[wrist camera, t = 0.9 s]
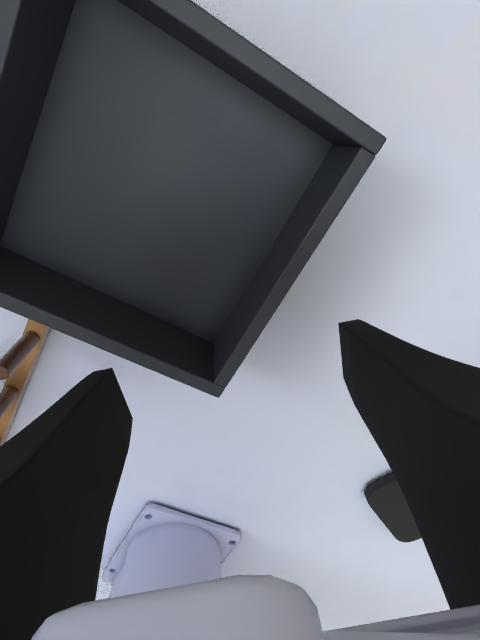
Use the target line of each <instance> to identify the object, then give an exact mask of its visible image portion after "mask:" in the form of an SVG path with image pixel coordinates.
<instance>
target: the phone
mask: <svg viewBox="0 0 480 640" xmlns="http://www.w3.org/2000/svg"><path fill="white" fill-rule="evenodd" d="M365 496H366V499H367V501H368V504H369V505H370V507H371V508H372V509H373V510H374V512H375V513H376V514H377V515H378V517H379V518H380V519H381V520H382V522H383V523H384V524H385V525H386V527H387V528H388V529H389V530H390V532H391V533H392V534H393V535H394V537H395V538H396V539H397V540H399V541H402V542H411V541H415V540H417V539H420V538H422V537H421V535H420V532H419V530H418V528H417V525H416V523H415V521H414V518H413V516H412V514H411V511H410V509H409V507H408V504H407V502H406V500H405V498H404V495H403V493H402V491H401V489H400V486H399V484H398V482H397V480H396V477H395V475H394V473H391V474H389V475H387V476H385V477H383V478H381V479H379V480H377V481H375V482H373V483H371V484H370V485H369V486H368V487H367V488H366V490H365Z"/></svg>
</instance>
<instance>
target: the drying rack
mask: <svg viewBox="0 0 480 640" xmlns="http://www.w3.org/2000/svg"><path fill="white" fill-rule="evenodd" d="M49 330H50V327H48V326H45V325H43V324H40V323H38V322H36V321H33V320H31V319H29V320H28V322H27V325H26V328H25V330H24V333H23V336H22V337H21V338H20V339H19V340H18V341H17V342H16V343H15V344H14V345H13V346H12V348H11V349H10V350H9V351H8V352H7V353H6V354H5V355H4V356H3V357H2V358H1V359H0V380H4V379H6V382H5V384H4V387H3V390H2V392H1V393H0V446H1V445H3V444H4V442H5V440H6V437H7V435H8V432H9V430H10V427H11V425H12V422H13V420H14V417H15V415H16V412H17V410H18V407H19V405H20V402H21V400H22V397H23V395H24V392H25V390H26V387H27V385H28V382H29V380H30V377H31V375H32V372H33V370H34V367H35V365H36V362H37V360H38V357H39V355H40V352H41V350H42V347H43V345H44V342H45V340H46V337H47V335H48V332H49Z"/></svg>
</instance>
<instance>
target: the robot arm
mask: <svg viewBox="0 0 480 640" xmlns="http://www.w3.org/2000/svg"><path fill="white" fill-rule="evenodd" d="M339 334H340V345H341V356H342V367H343V378H344V380H345V383H346V385H347V388H348V390H349V393H350V395H351V398H352V400H353V402H354V404H355V406H356V408H357V410H358V412H359V413H360V415H361V417H362V419H363V420H364V422H365V424H366V426H367V427H368V429H369V431H370V432H371V434H372V436H373V438H374V439H375V441H376V443H377V445H378V446H379V448H380V450H381V451H382V453H383V455H384V457H385V458H386V460H387V462H388V464H389V466H390V468H391V469H392V471H393V473H394V475H395V477H396V480H397V482H398V484H399V486H400V489H401V491H402V493H403V495H404V498H405V500H406V502H407V504H408V507H409V509H410V511H411V514H412V516H413V518H414V521H415V523H416V525H417V528H418V530H419V532H420V535H421V537H422V539H423V542H424V544H425V547H426V549H427V552H428V554H429V557H430V559H431V561H432V564H433V566H434V569H435V571H436V574H437V576H438V579H439V581H440V584H441V586H442V589H443V591H444V594H445V597H446V599H447V602H448V604H449V607H450V610H446V611H440V612H434V613H428V614H423V615H417V616H411V617H405V618H399V619H393V620H388V621H382V622H376V623H370V624H364V625H359V626H353V627H347V628H341V629H335V630H329V631H322V629H321V624H320V619H319V615H318V610H317V607H316V605H315V604H314V603H313V601H312V600H311V598H310V597H309V596H308V594H307V593H306V592H305V590H304V589H303V588H301V587H300V586H298V585H296V584H294V583H291V582H288V581H285V580H283V579H280V578H277V577H274V576H272V575H237V576H231V577H225V578H221V566H220V565H221V564H222V562H223V561H224V560H225V559H226V557H227V556H228V555H229V554H230V553H231V551H232V550H233V549H234V548H235V547H236V545H237V544H238V543H239V542H240V540H241V539H242V537H241V532H240V531H237V530H234V529H231V528H228V527H225V526H222V525H219V524H216V523H213V522H209V521H206V520H203V519H200V518H197V517H194V516H191V515H188V514H185V513H181V512H178V511H175V510H172V509H169V508H166V507H163V506H160V505H157V504H153V503H151V504H148V505H146V506H145V508H144V509H143V511H142V512H141V514H140V516H139V517H138V519H137V520H136V522H135V523H134V525H133V526H132V528H131V529H130V531H129V533H128V534H127V536H126V537H125V539H124V540H123V542H122V543H121V545H120V547H119V548H118V550H117V551H116V553H115V554H114V556H113V557H112V559H111V561H110V562H109V564H108V565H107V567H106V568H105V570H104V571H103V574H102V579H103V580H104V581H107V582H111V583H113V584H112V588H111V592H110V597H109V598H107V599H102V600H96V601H95V598H96V591H97V584H98V577H99V571H100V564H101V558H102V552H103V546H104V541H105V535H106V529H107V525H108V521H109V516H110V512H111V509H112V505H113V502H114V498H115V495H116V491H117V488H118V484H119V481H120V477H121V474H122V471H123V467H124V463H125V460H126V456H127V452H128V449H129V443H130V436H131V428H132V419H133V418H132V416H131V413H130V411H129V408H128V406H127V403H126V401H125V398H124V396H123V393H122V391H121V388H120V386H119V384H118V381H117V379H116V376H115V374H114V371H113V369H112V368H110V369H105V370H99V371H94V372H92V373H91V374H89V375H88V376H87V377H85V378H84V379H83V380H81V381H80V382H79V383H78V384H77V385H75V386H74V387H73V388H72V389H71V390H70V391H68V392H67V393H66V394H65V395H64V396H63V397H61V398H60V399H59V400H58V401H57V402H56V403H54V404H53V405H52V406H51V407H50V408H49V409H47V410H46V411H45V412H44V413H43V414H41V415H40V416H39V417H38V418H36V419H35V420H34V421H33V422H31V423H30V424H29V425H28V426H26V427H25V428H24V429H23V430H21V431H20V432H19V433H18V434H16V435H15V436H14V437H12V438H11V439H10V440H8V441H7V442H5V443H4V444H3V445H1V446H0V640H480V368H478V367H474V366H471V365H467V364H464V363H461V362H458V361H454V360H451V359H448V358H445V357H442V356H440V355H437V354H434V353H432V352H429V351H427V350H424V349H422V348H419V347H417V346H414V345H412V344H410V343H408V342H405V341H403V340H401V339H399V338H397V337H395V336H392V335H390V334H388V333H386V332H384V331H382V330H380V329H378V328H376V327H374V326H372V325H370V324H368V323H366V322H364V321H361V320H359V319H357V320H352V321H347V322H342V323H339Z"/></svg>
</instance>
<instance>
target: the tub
mask: <svg viewBox="0 0 480 640" xmlns="http://www.w3.org/2000/svg"><path fill="white" fill-rule="evenodd" d="M385 141H386V137H384V136H383V135H382V134H380V133H379V132H377V131H376V130H375V129H373V128H372V127H370V126H369V125H367V124H366V123H365V122H363V121H362V120H360V119H359V118H357V117H356V116H355V115H353V114H352V113H350V112H349V111H348V110H346V109H345V108H343V107H342V106H340V105H339V104H338V103H336V102H335V101H333V100H332V99H330V98H329V97H328V96H326V95H325V94H323V93H322V92H321V91H319V90H318V89H316V88H315V87H313V86H312V85H311V84H309V83H308V82H306V81H305V80H303V79H302V78H301V77H299V76H298V75H296V74H295V73H294V72H292V71H291V70H289V69H288V68H286V67H285V66H284V65H282V64H281V63H279V62H278V61H276V60H275V59H274V58H272V57H271V56H269V55H268V54H267V53H265V52H264V51H262V50H261V49H259V48H258V47H257V46H255V45H254V44H252V43H251V42H249V41H248V40H247V39H245V38H244V37H242V36H241V35H239V34H238V33H237V32H235V31H234V30H232V29H231V28H230V27H228V26H227V25H225V24H224V23H222V22H221V21H220V20H218V19H217V18H215V17H214V16H212V15H211V14H210V13H208V12H207V11H205V10H204V9H203V8H201V7H200V6H198V5H197V4H195V3H194V2H193V1H191V0H0V307H2V308H5V309H7V310H9V311H12V312H14V313H17V314H19V315H21V316H24V317H26V318H29V319H31V320H33V321H36V322H38V323H40V324H43V325H45V326H48V327H50V328H52V329H55V330H57V331H60V332H62V333H64V334H67V335H69V336H72V337H74V338H76V339H79V340H81V341H84V342H86V343H88V344H91V345H93V346H96V347H98V348H100V349H103V350H105V351H108V352H110V353H112V354H115V355H117V356H120V357H122V358H124V359H127V360H129V361H132V362H134V363H136V364H139V365H141V366H143V367H146V368H148V369H151V370H153V371H155V372H158V373H160V374H163V375H165V376H167V377H170V378H172V379H175V380H177V381H179V382H182V383H184V384H187V385H189V386H191V387H194V388H196V389H199V390H201V391H203V392H206V393H208V394H211V395H213V396H215V397H218V398H219V397H220V395H221V394H222V392H223V391H224V389H225V387H226V386H227V385H228V383H229V382H230V380H231V379H232V377H233V376H234V374H235V372H236V371H237V369H238V368H239V366H240V365H241V363H242V362H243V360H244V359H245V357H246V355H247V354H248V352H249V351H250V349H251V348H252V346H253V345H254V343H255V342H256V340H257V339H258V337H259V335H260V334H261V332H262V331H263V329H264V328H265V326H266V325H267V323H268V322H269V320H270V318H271V317H272V315H273V314H274V312H275V311H276V309H277V308H278V306H279V305H280V303H281V302H282V300H283V298H284V297H285V295H286V294H287V292H288V291H289V289H290V288H291V286H292V285H293V283H294V281H295V280H296V278H297V277H298V275H299V274H300V272H301V271H302V269H303V268H304V266H305V265H306V263H307V261H308V260H309V258H310V257H311V255H312V254H313V252H314V251H315V249H316V248H317V246H318V244H319V243H320V241H321V240H322V238H323V237H324V235H325V234H326V232H327V231H328V229H329V228H330V226H331V224H332V223H333V221H334V220H335V218H336V217H337V215H338V214H339V212H340V211H341V209H342V208H343V206H344V204H345V203H346V201H347V200H348V198H349V197H350V195H351V194H352V192H353V191H354V189H355V187H356V186H357V184H358V183H359V181H360V180H361V178H362V177H363V175H364V174H365V172H366V171H367V169H368V167H369V166H370V164H371V163H372V161H373V160H374V158H375V155H376V154H377V153H378V152H379V150H380V149H381V147H382V146H383V144H384V143H385Z"/></svg>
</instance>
